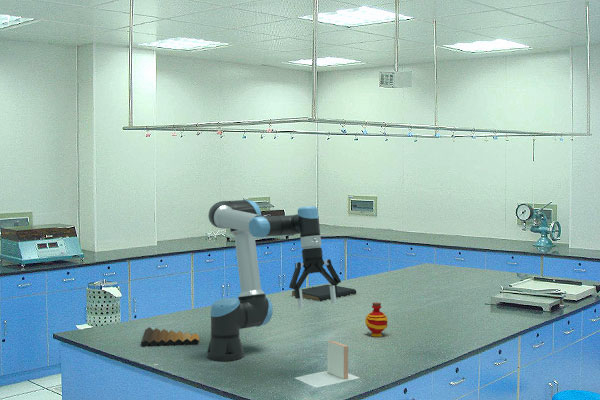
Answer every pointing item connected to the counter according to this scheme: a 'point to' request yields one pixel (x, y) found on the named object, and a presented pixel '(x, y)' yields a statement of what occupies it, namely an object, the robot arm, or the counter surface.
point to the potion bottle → (376, 320)
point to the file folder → (324, 292)
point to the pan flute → (168, 338)
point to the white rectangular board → (323, 379)
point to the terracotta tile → (337, 359)
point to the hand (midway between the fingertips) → (317, 305)
